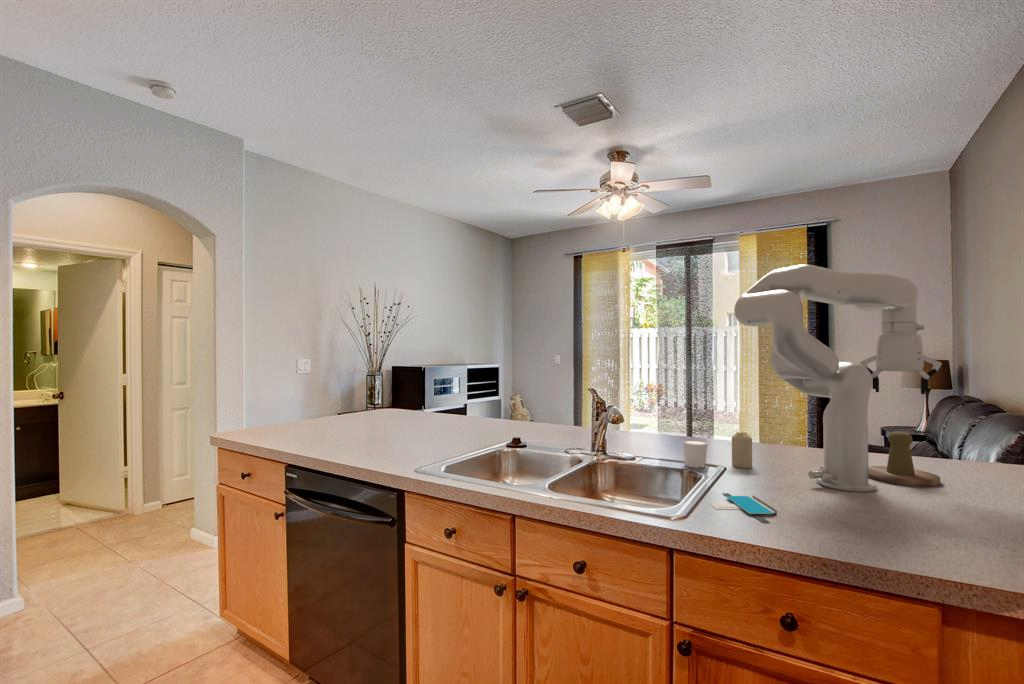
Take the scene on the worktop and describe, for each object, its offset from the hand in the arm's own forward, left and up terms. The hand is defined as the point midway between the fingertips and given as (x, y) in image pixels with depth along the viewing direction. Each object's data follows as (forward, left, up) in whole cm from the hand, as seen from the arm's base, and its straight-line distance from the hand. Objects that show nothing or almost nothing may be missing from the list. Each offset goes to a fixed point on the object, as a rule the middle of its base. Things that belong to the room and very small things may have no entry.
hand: (899, 392), depth 133 cm
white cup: (-45, +26, -23) cm, 57 cm away
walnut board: (0, 0, -23) cm, 23 cm away
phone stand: (-57, -11, -24) cm, 63 cm away
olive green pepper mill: (0, 0, -22) cm, 22 cm away
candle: (-32, +22, -23) cm, 45 cm away
